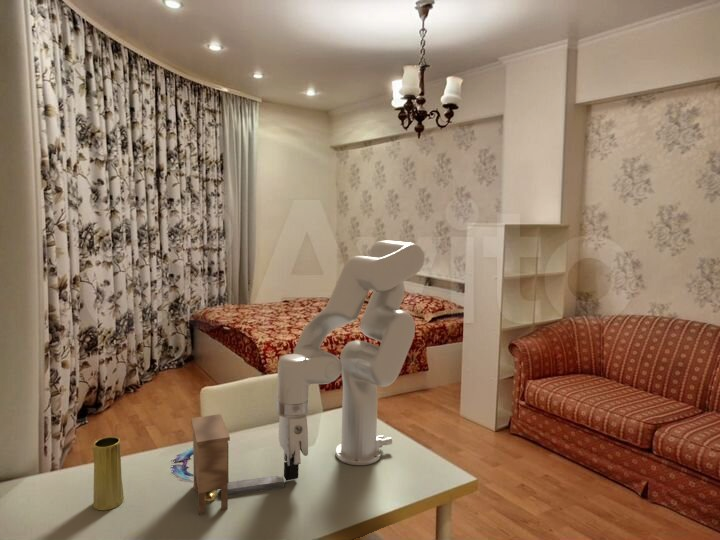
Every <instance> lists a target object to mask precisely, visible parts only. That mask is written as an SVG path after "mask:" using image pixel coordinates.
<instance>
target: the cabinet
mask: <svg viewBox="0 0 720 540" xmlns="http://www.w3.org/2000/svg"><path fill="white" fill-rule="evenodd" d="M190 423H191V426H192V441H193V442H192V443H193V444H192V446H193V447H192V448H193V455H192V457H193V458H192V460H193V461H192V462H193V474H194V477H193V481H194V483H193V490H194V491H198V492H197V493H198V497H197V498H198V515H199V516H201V515H205V514H206V503H205V492H209V491H214V490H216V491H218V490H219V491H220V498H221V499H220V500H221V501H220V503H221V505H220V506H221V507H220V508H221V511H226V510H228V508H229V507H228V506H229V502H228V501H229V500H228V497H229V496H228V483H229V482H230V481H229V480H230V479H229V442H230V441H231V439H230V438H231V437H230V434H229V432H228V429H227V426H226V423H225V421H224V418H223V416H222V414H221V413H220V414H212V415H206V416H199V417H191V418H190Z"/></svg>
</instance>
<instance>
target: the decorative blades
mask: <svg viewBox="0 0 720 540" xmlns="http://www.w3.org/2000/svg"><path fill="white" fill-rule="evenodd" d="M177 455H179V456H174V457H175V458H174V459H173V460H175V462H174V461H172V460H171V462H174V463H173V465H172V466H173V467H171V466H170V469H172V470H171V471H173V472H171V473H172V474H173V475H175V476H176V477H175V476H174V477H175V478H177V479H178V478H179V480H178V481H181V482H185V483H191V484H192V483H193V484H194V473H190V472H189V471H187V469H189V468H190V467H189V466H187V464H188V461H189V460H192V458H191V457H193V447H190V448H187V449H186V450H185V451H183V452H180V453H178V454H177ZM176 462H179V463H178V464H177V463H176ZM180 463H183V464H180ZM173 475H172V476H173ZM192 477H193V478H192Z"/></svg>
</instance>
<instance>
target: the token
mask: <svg viewBox="0 0 720 540" xmlns="http://www.w3.org/2000/svg"><path fill="white" fill-rule="evenodd" d="M217 498H218V493H217V490H214V491H209V492H205V504H209V503H212V502H214V501H216V500H217Z"/></svg>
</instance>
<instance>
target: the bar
mask: <svg viewBox="0 0 720 540" xmlns="http://www.w3.org/2000/svg"><path fill="white" fill-rule="evenodd" d="M284 488H285V478H284V475H283V474H279V475H272V476H264V477H258V478H257V477H256V478H250V479H243V480H235V481H229V483H228V497H229V496H235V495H243V494H248V493H256V492H265V491H270V490H277V489H284Z"/></svg>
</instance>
